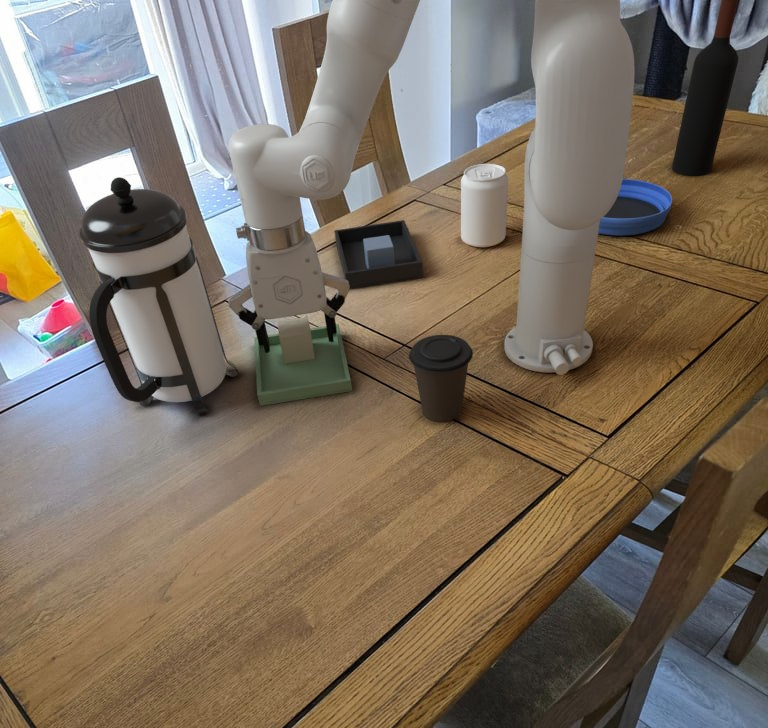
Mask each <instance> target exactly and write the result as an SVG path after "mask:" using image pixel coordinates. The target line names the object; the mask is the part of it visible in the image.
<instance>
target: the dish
mask: <svg viewBox="0 0 768 728" xmlns="http://www.w3.org/2000/svg"><path fill="white" fill-rule="evenodd" d="M336 329H337V333H335V334H333V339H334V342H329V339H328V333H327V327H326V325H323V326H318V327H317V326H316V327H310V331H311V337H312V342H313V349H314V355H315V359H313V360H306V361H300V362H294V363H287V364H285V362H284V358H283V353H282V349H281V344H280V339H279V333H273V334H268V338H269V345H270V351H269V353H265V349H264V345H261V346H259V343H258V339H257V336H254V337H253V338H254V358H255V376H256V377H255V379H256V396H257V400H258V403H259V407H261V406H269V405H274V404H281V403H287V402H292V401H298V400H304V399H305V400H306V399H311V398H318V397H324V396H331V395H337V394H343V393H349V392H353V386H352V379H351V374H350V369H349V365H348V361H347V360H348V359H347V355H346V351H345V347H344V343H343V337H342V333H341V329H340V324H339V323H336Z"/></svg>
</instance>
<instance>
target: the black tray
mask: <svg viewBox="0 0 768 728" xmlns="http://www.w3.org/2000/svg"><path fill="white" fill-rule="evenodd" d="M386 235H389V236H390V239H391V241H392V244H393V247H394V260H395V265H389V266H382V267H376V268H369V269H367V266H366V261H365V251H364V242H363V239H366V238H373V237H379V236H386ZM334 238H335V247H336V250H337V254H338V258H339V262H340V266H341V270H342V274H343V279H345V280H348V281H349V285H350V289H349V290H352V289H358V288H366V287H371V286H378V285H379V286H380V285H385V284H391V283H398V282H404V281H411V280H417V279H423V278H424V277H423V276H424V273H423V272H424V271H423V260H422V259H421V256H420V253H419V250H418V248H417V247H416V244H415V242H414V240H413V237H412V235H411V232H410V230H409V228H408V225H407V223H406V220H405V219H401V220H395V221H389V222H380V223H375V224H367V225H361V226H354V227H349V228H347V227H346V228H342V229H335V230H334Z"/></svg>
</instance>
